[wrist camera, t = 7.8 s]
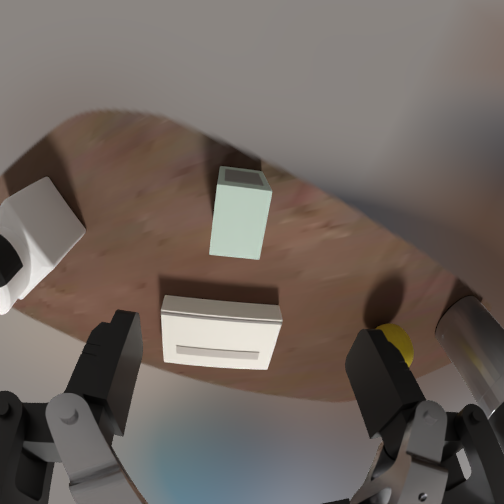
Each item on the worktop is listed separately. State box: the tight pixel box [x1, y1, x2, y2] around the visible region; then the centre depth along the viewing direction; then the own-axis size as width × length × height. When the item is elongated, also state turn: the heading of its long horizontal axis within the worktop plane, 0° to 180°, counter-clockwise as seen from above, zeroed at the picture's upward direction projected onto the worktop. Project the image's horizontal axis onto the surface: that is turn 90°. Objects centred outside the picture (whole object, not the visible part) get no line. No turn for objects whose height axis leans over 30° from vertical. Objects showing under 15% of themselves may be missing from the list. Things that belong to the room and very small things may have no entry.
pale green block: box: [209, 166, 272, 260], centre depth 22 cm, size 4×5×6 cm
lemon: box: [376, 324, 414, 367], centre depth 30 cm, size 6×6×8 cm
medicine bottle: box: [0, 177, 86, 315], centre depth 18 cm, size 7×7×12 cm
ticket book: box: [161, 295, 282, 370], centre depth 30 cm, size 12×8×2 cm, turn 81°
